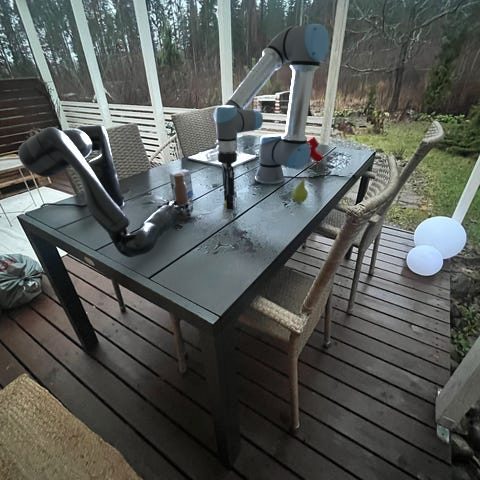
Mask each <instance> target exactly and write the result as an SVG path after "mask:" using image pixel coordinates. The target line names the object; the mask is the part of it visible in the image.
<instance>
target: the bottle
mask: <svg viewBox="0 0 480 480" xmlns="http://www.w3.org/2000/svg"><path fill="white" fill-rule="evenodd" d="M183 177H184V176H183V174H181V173H177V174H175V175H174V178H175V185H174V191H175V198H176V205H179V204H181V203H183V204H184V203H186V202H187V201H188V200H189V196H188V195H187V187H186V185H185V182H184V178H183ZM175 198H174V199H175ZM185 208H186V206H185ZM189 218H191V216H187V214H183V215H182V216H180V217H179V219H178V220H188V219H189Z"/></svg>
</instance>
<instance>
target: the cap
mask: <svg viewBox="0 0 480 480" xmlns="http://www.w3.org/2000/svg"><path fill="white" fill-rule="evenodd" d="M222 202H223V204H222V206H223V208H224V209H226V210H227V204H226V200H225V201H224V200H223V201H222ZM234 207H235V200H233V208H234Z"/></svg>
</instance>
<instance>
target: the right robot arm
mask: <svg viewBox="0 0 480 480" xmlns="http://www.w3.org/2000/svg"><path fill="white" fill-rule="evenodd" d="M329 49H330V37H329V33H328V30H327V28H326V27H325V26H324V25H322V24H320V23H308V24H302V25H297V26H289V27H286V28H284V29H283V30H282V31H280V32H279V33H277V34H276V36H274V38H273V39H271V41H269V43H268V44H267V46H266V47H265V48H264V49H263V51H262V56H261V57H260V58H259V60H258V61H257V62H256V64H255V65H254V66H253V68H252V69H251V70H250V71H249V73H248V74H247V76H246V77H245V78H244V79H243V81H242V82H241V83H240V84H239V85H238V87H237V88H236V90H235V91H234V92H233V93H232V95H231V96H230V97H229V99H228V100H227V101H226V102H225V104H224V105H219V106H217V107H216V108H215V109H214V111H213V120H214V122H215V129H216V130H215V132H216V142H215V143H214V144H215V146H216V148H217V150H218V153H217V155H218V162H220V163H222V167H221V173H222V174H221V175H222V187H223V202H224V201H225V200H226V204H227V209H226V211H230V210H234V207H233V201H234V196H235V171H234V170H235V169H234V168H235V167H232V163H235V162H236V161H237V152H236V150H237V149H238V134H241V133H246V132H247V133H248V132H254V131H256V130H259V129H261V128H262V126H263V124H264V116H263V113H262V112H261V111H260V110H259V109H258V108H250V109H247V108H248V107H249V105H250V104H251V103H252V102H253V100H254V98H255V97H256V96H257V94H258V93H259V92H260V91H261V89H262V88H263V86H265V84H266V83H267V82H268V80H270V78H271V77H272V75H274V73H275V71H278V70H280V69H281V68H282V67H283V66H284V65H285V64H287V63H289V67H290V69H291V70H292V77H291V85H290V92H289V93H290V94H289V100H288V101H289V102H288V109H287V118H286V125H285V132H284V134H282V133H276V134H275V133H274V134H272V133H271V134H266V135H262V136H260V139H259V149H258V150H259V153H258V167H257V171H256V174H255V177H254V181H255V183H258V184H259V185H262V186H263V185H264V186H279V185H281V184H283V183H284V181H285V179H295V180H299V179H300V180H304V179H306V178H307V176H291V175H284V172H283V171H284V170H283V167H285V168H288V169H292V170H293V169H294V170H299V169H302V168H303V167H304V166H305V165H306V164H307V163H308V161H309V159H310V157H311V156H310V153H311V150H310V147H309V145H307V141H308V138H307V136H306V135H305V134H306V127H307V122H308V115H309V108H310V103H311V96H312V89H313V83H314V78H315V73H316V71H317V70H318V69H319V68H320V65H321V64H320V63H321V62H322V61H323V60H325V59H326V58H327V57H326V56H327V55H328V53H329ZM282 166H283V167H282ZM325 174H326V175H321V174H318V175H319V176H316V175H312V176H313V177H309V178H307V179H313V178H320V177H329V176H330V177H336V178H346V177H348V176H350V175H348V176H339V175H340V174H334V175H329V174H330V173H325ZM349 174H353V173H349ZM351 176H352V177H356V174H354V175H351Z"/></svg>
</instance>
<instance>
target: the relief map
mask: <svg viewBox="0 0 480 480" xmlns="http://www.w3.org/2000/svg"><path fill="white" fill-rule="evenodd" d="M236 152H237V161H236V162H235V163H232V167H233V168H236V167H238V166H240V165H242V164H245V163H247V162H249V161H252V160H255V159H256V158H257V157H256V155H254V154H248V153H245V152H244V151H243V150H242V148H237V150H236ZM217 153H218V150H217V147H214V148H212V149H209V150H205V151H199V152H198V153H197V154H194V155H191V156H188V160H191V161H196V162H200V163H203V164H208V165H213V166H215V167H216V166H217V167H221V168H222V163H220V162H218V155H217Z"/></svg>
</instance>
